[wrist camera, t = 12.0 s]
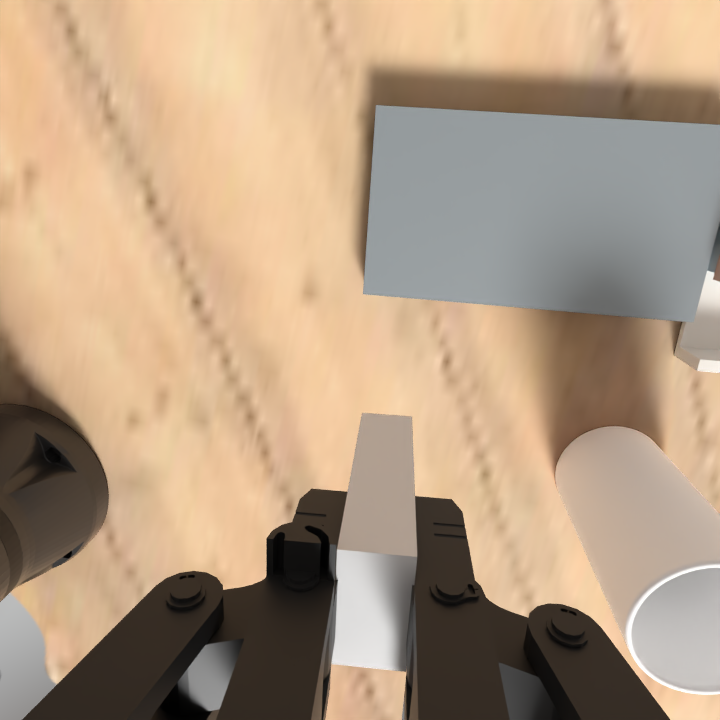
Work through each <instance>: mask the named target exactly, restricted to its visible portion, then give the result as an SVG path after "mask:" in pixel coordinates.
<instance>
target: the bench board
mask: <svg viewBox="0 0 720 720" xmlns="http://www.w3.org/2000/svg"><path fill="white" fill-rule="evenodd" d="M719 223H720V125H714V124H697V123H679V122H662V121H644V120H627V119H609V118H592V117H574V116H557V115H539V114H522V113H504V112H487V111H469V110H452V109H434V108H417V107H399V106H382V105H376V112H375V127H374V142H373V156H372V171H371V186H370V200H369V215H368V230H367V244H366V259H365V274H364V288H363V294H368V295H379V296H391V297H403V298H414V299H426V300H438V301H449V302H461V303H472V304H484V305H496V306H507V307H519V308H531V309H542V310H554V311H566V312H577V313H589V314H601V315H612V316H624V317H635V318H647V319H659V320H670V321H682V322H694V319H695V315H696V311H697V307H698V303H699V300H700V296H701V292H702V288H703V284H704V280H705V277H706V273H707V269H708V265H709V261H710V257H711V254H712V250H713V246H714V242H715V238H716V234H717V231H718V227H719Z"/></svg>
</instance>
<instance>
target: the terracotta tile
mask: <svg viewBox="0 0 720 720" xmlns="http://www.w3.org/2000/svg"><path fill="white" fill-rule="evenodd" d="M713 280H716V281H719V282H720V254H719V258H718V262H717V266H716V269H715V273H714V277H713Z"/></svg>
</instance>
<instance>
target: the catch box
mask: <svg viewBox="0 0 720 720" xmlns="http://www.w3.org/2000/svg"><path fill="white" fill-rule="evenodd" d="M713 277H714V273H713V272H710V271H707V273H706V277H705V280H704V284H703V288H702V292H701V296H700V300H699V303H698V307H697V311H696V315H695V319H694V322H682V325H681V329H680V333H679V337H678V341H677V345H676V349H675V353H674V356H676V357H677V358H679V359H680V360H682V361H683V362H685V363H686V364H688V365H689V366H691V367H692V368H694V369H695V370H697V371H704V372H715V373H720V282H719V281H716V280H713Z"/></svg>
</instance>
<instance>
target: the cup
mask: <svg viewBox="0 0 720 720" xmlns="http://www.w3.org/2000/svg"><path fill="white" fill-rule="evenodd" d="M555 481H556V487H557V490H558V493H559V495H560V497H561V499H562V501H563V504H564V506H565V508H566V510H567V513H568V515H569V517H570V519H571V522H572V524H573V526H574V528H575V531H576V533H577V535H578V537H579V540H580V542H581V544H582V546H583V549H584V551H585V553H586V555H587V558H588V560H589V562H590V564H591V566H592V569H593V571H594V573H595V575H596V578H597V580H598V582H599V584H600V587H601V589H602V591H603V593H604V596H605V598H606V600H607V602H608V605H609V607H610V609H611V611H612V614H613V616H614V618H615V620H616V622H617V625H618V627H619V629H620V631H621V634H622V636H623V638H624V640H625V642H626V645H627V647H628V649H629V651H630V653H631V655H632V656H633V658H634V660H635V661H636V663H637V664H638V665H639V667H640V668H641V669H642V670H643V671H644V672H645V673H646V674H647V675H648V676H650V677H651V678H652V679H654V680H655V681H657V682H659V683H661V684H663V685H665V686H667V687H669V688H672V689H675V690H678V691H682V692H687V693H693V694H720V514H719V513H718V511H717V510H716V509H715V508H714V507H713V506H712V505H711V504H710V503H709V502H708V500H707V499H706V498H705V497H704V496H703V495H702V494H701V493H700V492H699V491H698V489H697V488H696V487H695V486H694V485H693V484H692V483H691V482H690V481H689V480H688V478H687V477H686V476H685V475H684V474H683V473H682V472H681V471H680V470H679V469H678V467H677V466H676V465H675V464H674V463H673V462H672V461H671V460H670V459H669V458H668V456H667V455H666V454H665V453H664V452H663V451H662V450H661V449H660V448H659V447H658V445H657V444H656V443H655V442H654V441H653V440H652V439H651V438H649V437H648V436H646V435H645V434H643V433H641V432H639V431H637V430H634V429H631V428H627V427H621V426H608V427H601V428H597V429H594V430H591V431H588V432H586V433H584V434H582V435H581V436H579V437H577V438H576V439H575V440H573V441H572V442H571V443H570V444H569V445H568V446H567V447H566V449H565V450H564V451H563V453H562V454H561V456H560V458H559V460H558V463H557V466H556V471H555Z"/></svg>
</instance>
